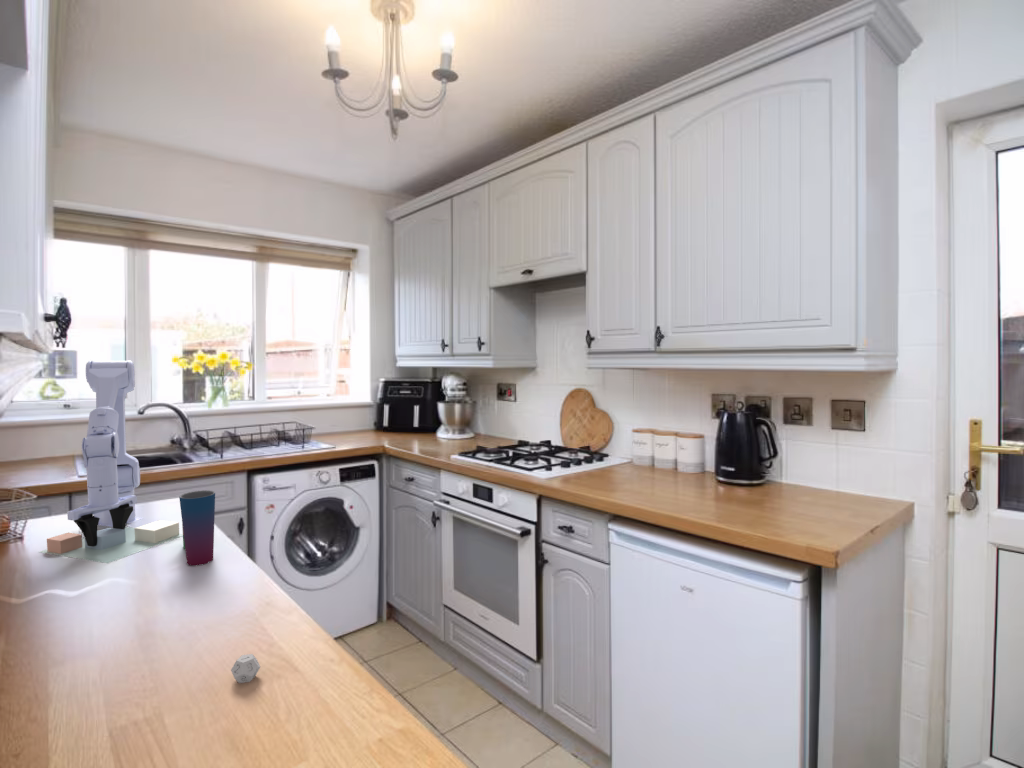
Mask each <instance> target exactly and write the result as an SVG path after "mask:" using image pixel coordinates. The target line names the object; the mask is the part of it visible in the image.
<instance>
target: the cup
mask: <svg viewBox="0 0 1024 768" xmlns="http://www.w3.org/2000/svg"><path fill="white" fill-rule="evenodd" d="M179 505H180V516H181V523H182V524H181V525H183V528H182V534H183V533H184V542H185V549H184V550H185V557H186V558H185V560H186V564H187V565H188V566H190V567H191V566H194V567H196V565H197V566H202V564H203V565H207V564H209V563H210V562H212V561H214V547H215V516H216V515H215V514H216V513H215V512H216V491H215V490H210V489H207V490H195V491H194V490H193V491H189V492H185V493H182V494H180V495H179ZM208 562H209V563H208Z"/></svg>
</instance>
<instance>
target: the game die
mask: <svg viewBox="0 0 1024 768" xmlns="http://www.w3.org/2000/svg"><path fill="white" fill-rule="evenodd" d="M260 669H261V666H260V663H259V661H258V659H257V657H256V656H254V654H253V653H250V654H248V653H247V654H242V655H241V656H240V657H238V659H236V660H235V662H234V663H233V665H232V668H231V669H230V671H231V674H232V676H233V677H234V679H235V681H236V682H237V683H238V684H244V683H250V682H251V681H252V680H253V679H254V678H255V677H256V675H257V674H258V672H259V670H260Z"/></svg>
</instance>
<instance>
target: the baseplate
mask: <svg viewBox="0 0 1024 768" xmlns="http://www.w3.org/2000/svg"><path fill="white" fill-rule="evenodd" d="M134 528H135V527H130V526H125V535H126V542H124V543H121V544H118V545H115V546H112V547H109V548H106V549H104V550H99V549H93V548H86V547H85V537H82V547H81V548H78V549H74V550H71V551H68V552H65V553H62V554H59V553H53V552H47V549H44V550H40V551H39V553H42V554H49V555H54V556H59V557H66V558H74V559H79V560H84V561H85V560H86V561H91V562H97V563H102V564H103V563H104V564H110V563H112V562H115V561H118V560H120V559H123V558H126V557H129V556H132V555H134V554H137V553H139V552H142V551H145V550H148V549H151V548H153V547H157V546H158V545H162V544H164V543H167V542H170V541H172V540H173V541H174V540H175V539H177V538H181V537H183V533H179V535H176V536H173V537H170V538H168V539H165V540H162V541H159V542H157V543H151V542H144V541H137V540H135V531H134Z"/></svg>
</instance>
